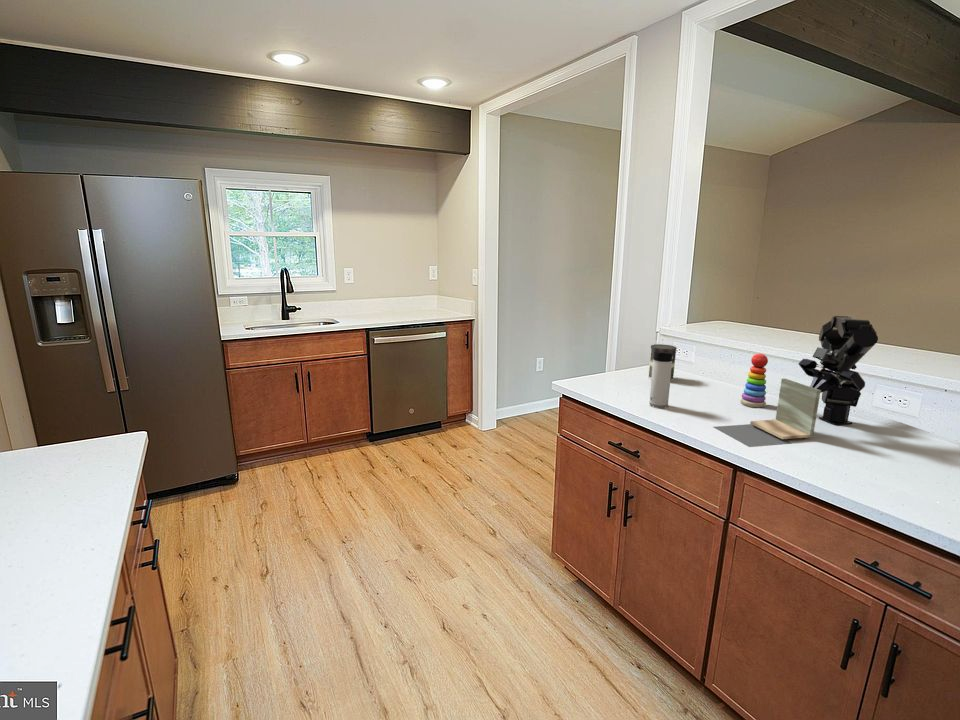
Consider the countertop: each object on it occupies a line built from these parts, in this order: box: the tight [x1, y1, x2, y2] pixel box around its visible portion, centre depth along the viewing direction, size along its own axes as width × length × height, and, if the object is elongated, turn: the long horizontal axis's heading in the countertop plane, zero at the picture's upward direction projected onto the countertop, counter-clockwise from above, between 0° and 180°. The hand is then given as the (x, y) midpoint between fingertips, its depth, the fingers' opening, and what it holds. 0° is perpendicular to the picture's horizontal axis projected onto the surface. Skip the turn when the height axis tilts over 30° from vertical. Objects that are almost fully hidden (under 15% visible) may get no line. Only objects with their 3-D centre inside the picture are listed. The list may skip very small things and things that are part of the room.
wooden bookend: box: [749, 378, 821, 441], centre depth 146 cm, size 10×13×15 cm
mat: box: [713, 423, 793, 448], centre depth 146 cm, size 14×16×1 cm
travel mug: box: [648, 351, 673, 409], centre depth 171 cm, size 6×7×20 cm
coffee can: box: [648, 343, 678, 381], centre depth 208 cm, size 10×10×14 cm
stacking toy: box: [739, 353, 769, 408], centre depth 173 cm, size 8×8×19 cm
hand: (810, 393), depth 147 cm, fingers closed
